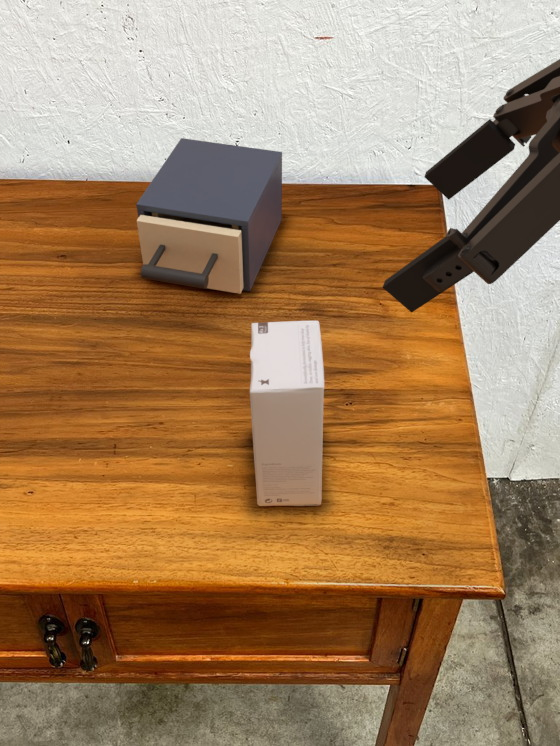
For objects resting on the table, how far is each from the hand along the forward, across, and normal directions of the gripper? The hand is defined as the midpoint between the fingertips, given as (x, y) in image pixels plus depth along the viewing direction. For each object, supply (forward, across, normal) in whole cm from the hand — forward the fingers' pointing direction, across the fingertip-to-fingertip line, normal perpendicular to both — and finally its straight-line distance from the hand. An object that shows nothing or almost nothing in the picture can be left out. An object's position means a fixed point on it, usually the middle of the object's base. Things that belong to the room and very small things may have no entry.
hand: (418, 237), depth 56 cm
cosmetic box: (+24, -7, -8) cm, 26 cm away
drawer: (+34, +18, +7) cm, 39 cm away
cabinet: (+35, +23, +7) cm, 43 cm away
